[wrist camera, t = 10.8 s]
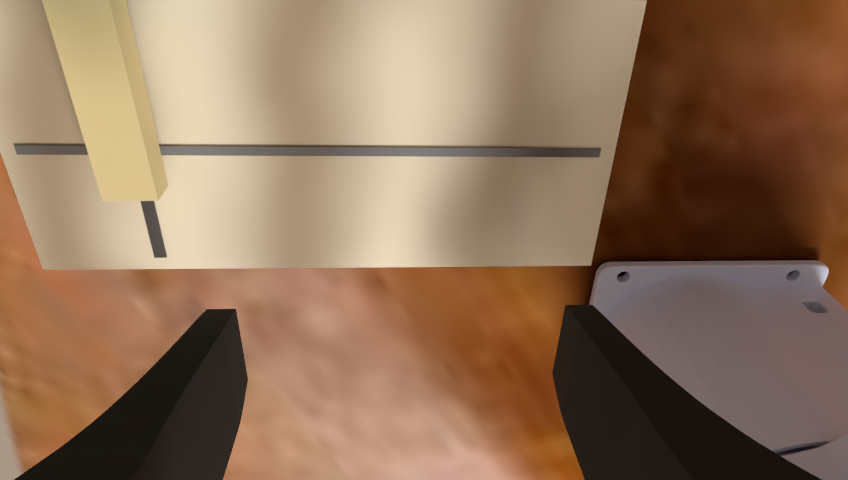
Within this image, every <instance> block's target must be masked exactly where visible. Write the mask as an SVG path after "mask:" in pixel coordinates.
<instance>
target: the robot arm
mask: <svg viewBox="0 0 848 480" xmlns="http://www.w3.org/2000/svg"><path fill="white" fill-rule="evenodd" d="M791 271H793V272H792V273H791V274H789V275H788V273H789V272H791ZM621 272H626V273H625V274H624V275H623V276H620V277H617V276H618V274H620V273H621ZM828 272H829V269H828V267H827V266H826V265H825V264H823V263H822V262H821V261H817V260H789V261H642V262H606V263H604V264H602V265H601V266H600V267H599V268H598V269H597V271H596V275H595V279H594V284H593V288H592V293H591V298H590V302H589V305H566V306H565V311H564V316H563V321H562V327H561V332H560V337H559V342H558V347H557V353H556V358H555V363H554V368H553V373H552V374H553V378H554V383H555V388H556V393H557V397H558V402H559V406H560V410H561V414H562V417H563V420H564V423H565V426H566V429H567V432H568V434H569V437H570V440H571V443H572V446H573V448H574V451H575V454H576V457H577V459H578V462H579V465H580V468H581V470H582V473H583V476H584V478H585V480H848V311H847V310H846V309H845V308H844V307H843V306H842V305H841V304H840V303H839V302H838V301H837V300H835V299H834V298H833V297H832V296H831V295H830V294H829V293H828V292H827V291H826V290H825V289H824V288H823V287H822V286H823V284H824V282H825V280H826V278H827V276H828ZM247 381H248V378H247V372H246V366H245V360H244V354H243V348H242V342H241V337H240V331H239V325H238V319H237V313H236V309H207V310H206V311H205V312H204V313H203V314H202V315H201V316H200V317H199V318H198V319H197V320H196V321H195V322H194V323H193V324H192V325H191V327H190V328H189V329H188V330H187V331H186V332H185V333H184V334H183V335H182V336H181V337H180V338H179V340H178V341H177V342H176V343H175V344H174V345H173V346H172V347H171V348H170V349H169V350H168V351H167V352H166V353H165V354H164V355H163V357H162V358H161V359H160V360H159V361H158V362H157V363H156V364H155V365H154V366H153V367H152V368H151V369H150V370H149V371H148V372H147V373H146V374H145V375H144V376H143V377H142V378H141V379H140V380H139V381H138V382H137V383H136V384H135V385H134V386H132V387H131V388H130V389H129V390H128V391H127V392H126V393H125V394H124V395H123V396H122V397H121V398H120V399H118V400H117V401H116V402H115V403H114V404H113V405H112V406H111V407H110V408H109V409H108V410H106V411H105V412H104V413H103V414H102V415H101V416H99V417H98V418H97V419H96V420H95V421H94V422H92V423H91V424H90V425H89V426H88V427H86V428H85V429H84V430H82V431H81V432H80V433H79V434H77V435H76V436H75V437H74V438H72V439H71V440H70V441H68V442H67V443H66V444H64V445H63V446H62V447H60V448H59V449H58V450H56V451H55V452H53V453H52V454H51V455H49V456H48V457H46V458H45V459H43V460H42V461H40V462H39V463H38V464H36V465H35V466H33V467H32V468H30V469H29V470H28V471H26V472H25V473H23V474H22V475H20V476H19V477H18V478H16V479H15V480H223V477H224V474H225V470H226V467H227V464H228V461H229V458H230V454H231V451H232V448H233V444H234V441H235V438H236V435H237V431H238V428H239V425H240V421H241V415H242V410H243V405H244V399H245V393H246V387H247Z"/></svg>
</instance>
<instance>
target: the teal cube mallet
mask: <svg viewBox="0 0 848 480" xmlns="http://www.w3.org/2000/svg"><path fill="white" fill-rule="evenodd" d="M42 2H43V5H44V9H45V12H46V15H47V19H48V22H49V25H50V29H51V32H52V35H53V39H54V42H55V45H56V49H57V52H58V55H59V59H60V62H61V65H62V69H63V72H64V75H65V79H66V82H67V85H68V89H69V92H70V95H71V99H72V102H73V105H74V109H75V112H76V115H77V119H78V122H79V125H80V128H81V132H82V135H83V138H84V142H85V145H86V148H87V152H88V155H89V158H90V162H91V165H92V168H93V172H94V175H95V178H96V182H97V185H98V188H99V192H100V195H101V198H102V202H106V201H158V200H159V199H160V197H161V196H162V194H163V193H164V192H165V190H166V189H167V187H168V181H167V177H166V173H165V168H164V164H163V160H162V155H161V151H160V147H159V142H158V138H157V134H156V130H155V125H154V121H153V117H152V112H151V108H150V104H149V99H148V95H147V91H146V86H145V82H144V78H143V74H142V69H141V65H140V61H139V56H138V52H137V48H136V43H135V39H134V35H133V30H132V26H131V22H130V17H129V13H128V9H127V5H126V0H42Z"/></svg>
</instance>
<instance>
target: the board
mask: <svg viewBox="0 0 848 480" xmlns="http://www.w3.org/2000/svg"><path fill="white" fill-rule="evenodd" d="M646 3H647V0H126V5H127V9H128V13H129V17H130V22H131V26H132V30H133V35H134V39H135V43H136V48H137V52H138V56H139V61H140V65H141V69H142V74H143V78H144V82H145V86H146V91H147V95H148V99H149V104H150V108H151V112H152V117H153V121H154V125H155V130H156V134H157V138H158V142H159V147H160V151H161V155H162V160H163V164H164V168H165V173H166V177H167V181H168V187H167V189H166V190H165V192H164V193H163V194H162V196H161V197H160V199H159V200H158V201H106V202H102V198H101V195H100V192H99V188H98V185H97V182H96V178H95V175H94V172H93V168H92V165H91V162H90V158H89V155H88V152H87V148H86V145H85V142H84V138H83V135H82V132H81V128H80V125H79V122H78V119H77V115H76V112H75V109H74V105H73V102H72V99H71V95H70V92H69V89H68V85H67V82H66V79H65V75H64V72H63V69H62V65H61V62H60V59H59V55H58V52H57V49H56V45H55V42H54V39H53V35H52V32H51V29H50V25H49V22H48V19H47V15H46V12H45V9H44V5H43V2H42V0H0V153H1V156H2V158H3V161H4V164H5V167H6V169H7V172H8V175H9V177H10V180H11V183H12V186H13V188H14V191H15V194H16V197H17V199H18V202H19V205H20V207H21V210H22V213H23V216H24V218H25V221H26V224H27V227H28V229H29V232H30V235H31V237H32V240H33V243H34V246H35V248H36V251H37V254H38V257H39V259H40V262H41V265H42V268H43V270H71V269H210V268H349V267H488V266H591V263H592V259H593V254H594V249H595V244H596V240H597V235H598V230H599V225H600V221H601V216H602V211H603V207H604V202H605V197H606V192H607V188H608V183H609V178H610V173H611V169H612V164H613V159H614V154H615V150H616V145H617V140H618V136H619V131H620V126H621V121H622V117H623V112H624V107H625V102H626V98H627V93H628V88H629V84H630V79H631V74H632V69H633V65H634V60H635V55H636V50H637V46H638V41H639V36H640V31H641V27H642V22H643V17H644V13H645V8H646Z"/></svg>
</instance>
